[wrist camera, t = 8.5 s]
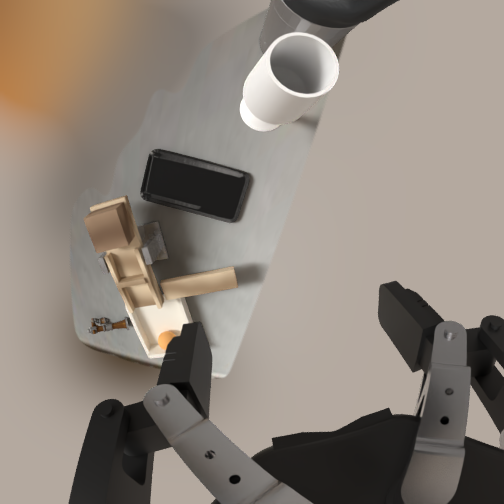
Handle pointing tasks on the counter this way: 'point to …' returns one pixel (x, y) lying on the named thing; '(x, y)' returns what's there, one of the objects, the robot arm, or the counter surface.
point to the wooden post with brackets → (96, 328)
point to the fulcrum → (146, 245)
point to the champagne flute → (288, 81)
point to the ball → (165, 339)
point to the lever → (143, 260)
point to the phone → (194, 185)
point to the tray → (159, 323)
